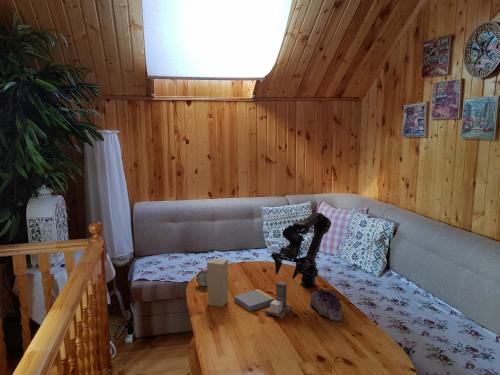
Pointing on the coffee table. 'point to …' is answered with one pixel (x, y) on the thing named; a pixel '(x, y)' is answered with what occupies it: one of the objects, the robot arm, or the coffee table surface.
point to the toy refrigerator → (217, 282)
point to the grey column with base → (280, 296)
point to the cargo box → (276, 306)
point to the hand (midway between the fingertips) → (284, 276)
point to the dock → (253, 300)
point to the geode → (327, 304)
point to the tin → (202, 278)
